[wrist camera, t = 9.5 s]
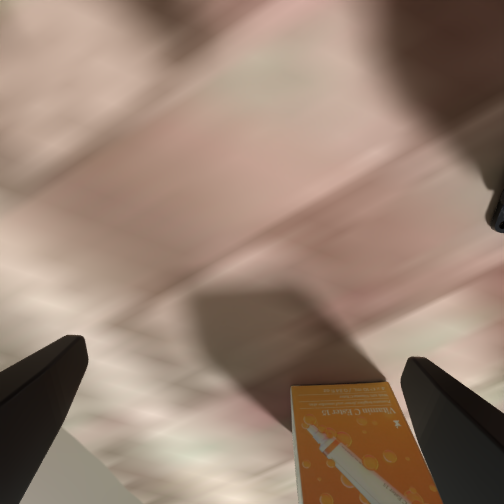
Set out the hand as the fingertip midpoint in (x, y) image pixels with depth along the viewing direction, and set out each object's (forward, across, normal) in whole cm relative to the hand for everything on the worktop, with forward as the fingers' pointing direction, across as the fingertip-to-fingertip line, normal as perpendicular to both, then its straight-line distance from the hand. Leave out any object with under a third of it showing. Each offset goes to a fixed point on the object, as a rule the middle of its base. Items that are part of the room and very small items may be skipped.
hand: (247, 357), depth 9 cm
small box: (+12, -8, +16) cm, 22 cm away
